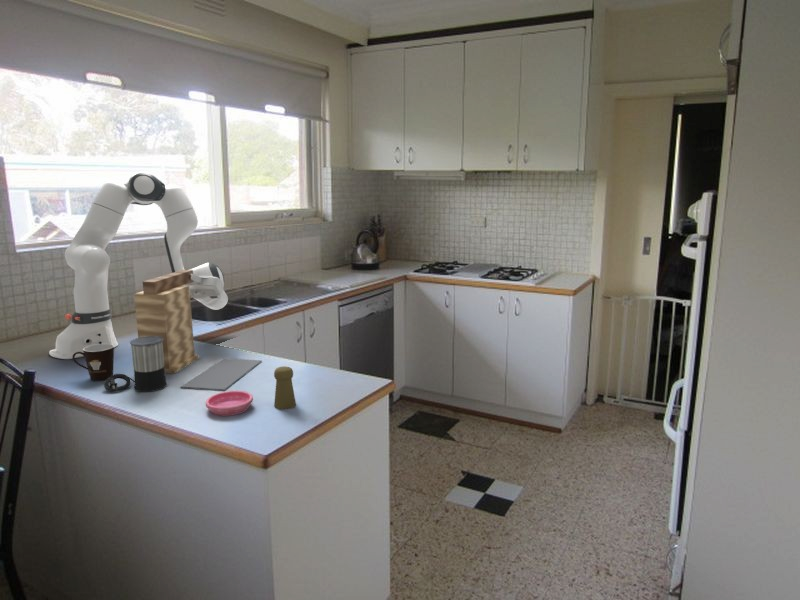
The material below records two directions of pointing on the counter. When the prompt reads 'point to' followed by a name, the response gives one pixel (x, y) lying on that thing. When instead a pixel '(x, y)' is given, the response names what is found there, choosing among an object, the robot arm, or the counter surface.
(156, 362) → the milk frother
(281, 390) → the cork
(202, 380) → the rubber mat
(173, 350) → the oak block
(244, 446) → the counter surface
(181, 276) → the walnut bar
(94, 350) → the coffee mug
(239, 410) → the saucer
